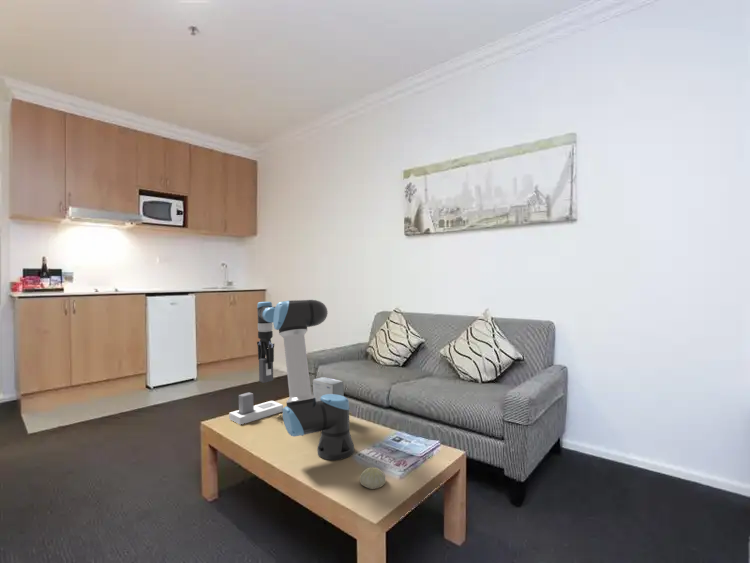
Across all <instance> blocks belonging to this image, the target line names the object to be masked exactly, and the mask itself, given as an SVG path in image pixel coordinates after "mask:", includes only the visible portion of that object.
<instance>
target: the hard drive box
mask: <svg viewBox="0 0 750 563" xmlns="http://www.w3.org/2000/svg"><path fill="white" fill-rule="evenodd" d="M344 393H345V392H344V381H343V380H339V379H334V378H329V377H325V376H321V377H318V378H314V379H312V395H314V396H315V398H316V401H320V398H321V396H322V395H326V394H336V395H341V396H344ZM344 397H345V396H344Z"/></svg>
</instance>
